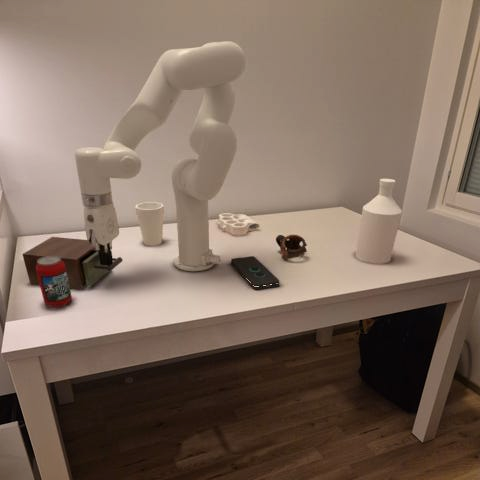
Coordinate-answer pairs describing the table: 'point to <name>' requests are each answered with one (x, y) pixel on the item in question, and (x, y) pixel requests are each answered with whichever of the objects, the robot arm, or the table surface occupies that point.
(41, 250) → the cabinet
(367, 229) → the bottle
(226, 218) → the white multi well tray
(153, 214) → the foam cup
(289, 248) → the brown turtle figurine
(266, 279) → the black flat slab
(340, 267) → the table surface
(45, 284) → the beverage can
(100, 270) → the drawer
